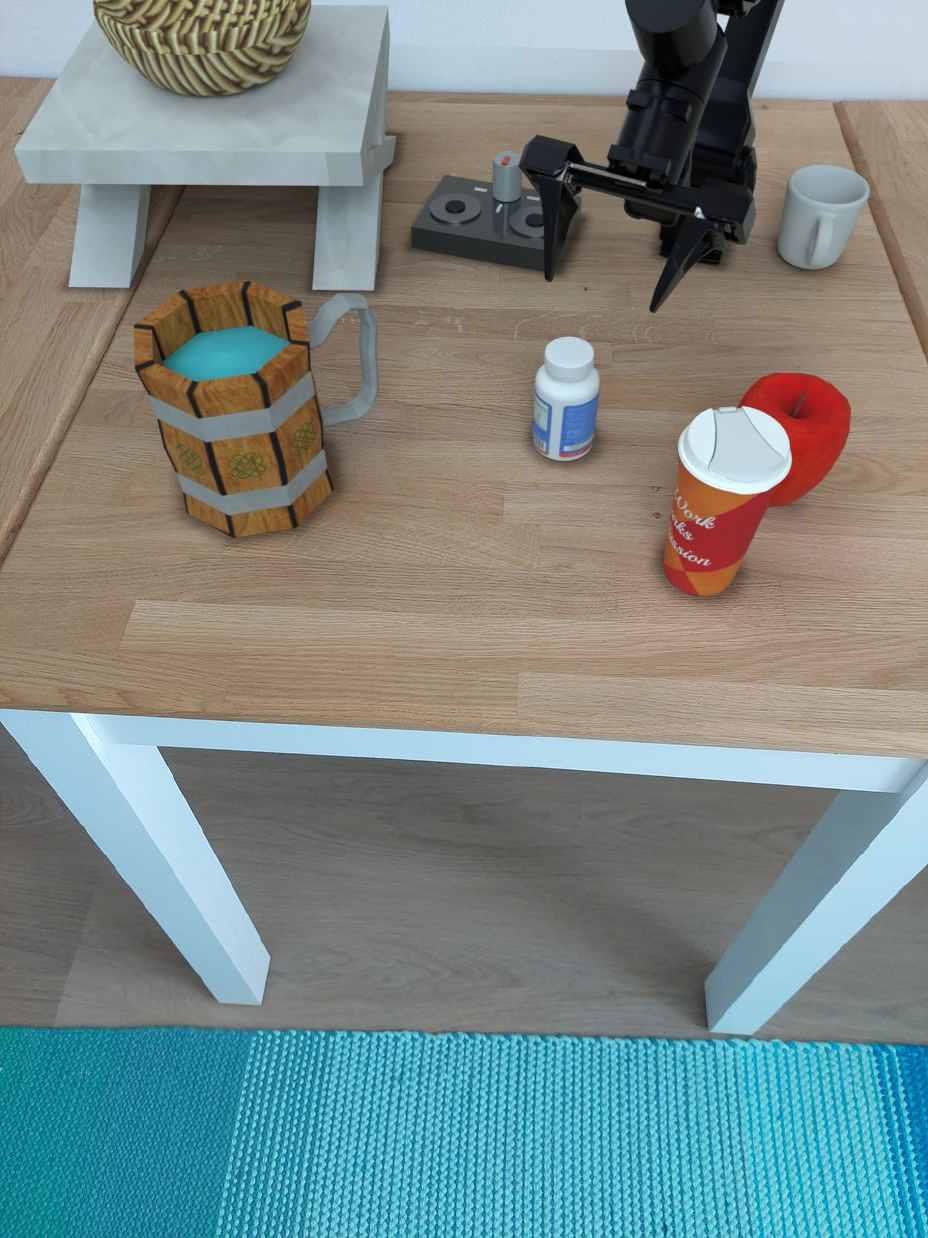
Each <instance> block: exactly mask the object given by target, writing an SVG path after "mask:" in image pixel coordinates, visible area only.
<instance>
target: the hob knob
mask: <svg viewBox="0 0 928 1238" xmlns="http://www.w3.org/2000/svg"><path fill="white" fill-rule="evenodd" d="M521 156H522V154H520V153H518V152H516V151H512V150H511V151H510V150H504V151H500V152H497V153H496V154H494V155H493V158H492V183H493V189H492V194H493V197H494V198H495V199H497V200H499V201H503V202H512V201H515V200H517V199H519V198H520V197H521V194H522V187H523V172H522V171H521V169H520V168H519V167H518V165H519V162H520V159H521Z"/></svg>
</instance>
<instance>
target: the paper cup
mask: <svg viewBox="0 0 928 1238" xmlns="http://www.w3.org/2000/svg"><path fill="white" fill-rule="evenodd" d="M678 439H679V440H678V443H677V451H678V456H679V464H678V470H677V476H676V481H675V487H674V493H673V499H672V505H671V512H670V516H669V523H668V529H667V535H666V542H665V548H664V554H663V555H664V556H663V571H664V574H665V576H666V578H667V580H668V581H669V582H670V584H672V585H673V586H674V587H675V588H677V589H678V590H680V591H681V592H683V593H686V594H688V595H691V596H698V597H711V596H714V595H717V594H720V593H721V592H724V591H725V590H726V589H727V588H728V587H729V586H730V584H731V583H732V582H733V580H734V578H735V576H736V574H737V572H738V570H739V568H740V566H741V564H742V562H743V560H744V558H745V556H746V554H747V551H748V549H749V547H750V545H751V543H752V541H753V539H754V536H755V534H756V533H757V531H758V528H759V526H760V524H761V522H762V519H763V517H764V515H765V513H766V511H767V509H768V507H769V506H768V504H769V502H770V500H771V498H772V496H773V494H774V491H775V489H776V487H777V485H778V483H780V482H781V481H782V480H783V479H784V478H785V477H786V475H787V474H788V472H789V470H790V467H791V463H792V456H791V451H790V444H789V439H788V436H787V434H786V432H785V430H784V429H783V427H782V426H781V425H780V424H779V423H778V422H777V421H776V420H775V419H773V418H772V417H771V416H769V415H767V414H765V413H764V412H761V411H759V410H756V409H753V408H750V407H745V406H742V407H741V409H740V408H738V407H736V406H723V407H718V409H713V408H712V407H711V408H708V409H706V410H704V411H702V412H700V413H699V414H698V415H697V416H695V417H694V418H693V420H692V421H691V422H690V423H689V425H688V426H686V427H685V429H684V430H683V431H682V433H681V435H680V436H679V438H678Z"/></svg>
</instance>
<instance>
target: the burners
mask: <svg viewBox="0 0 928 1238" xmlns="http://www.w3.org/2000/svg"><path fill="white" fill-rule="evenodd" d="M429 209H430V214H431V215H432V216H433V217H434V218H435V219H436V220H438V221H441V222H444V223H449V224H461V223H466V222H469V221H472V220H474V219H475V218H477V217H478V216H479V214H480V212H481V204H480V202H479V201H478V200H477V199H476V198H474V197H472V196H470V195H466V194H460V193H451V194H445V195H442V196H439V197H437V198H436V199H434V200H433V201H432V202H431V204H430V207H429ZM509 224H510V227H511V229H512V230H513V231H514V232H516V233H517V234H519V235H522V236H525V237H530V238H543V237H544V222H543V213H542V207H538V206H532V207H525V208H522V209H519V210H517V211H515V212H514V213H513V214H512V215H511V217H510V220H509Z"/></svg>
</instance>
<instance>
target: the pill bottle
mask: <svg viewBox="0 0 928 1238" xmlns="http://www.w3.org/2000/svg"><path fill="white" fill-rule="evenodd" d="M594 361H595V351H594V348H593V346H592V344H591V343H590V342H589V341H587V340H585V339H583V338H580V337H576V336H562V337H557V338H555V339H553V340H551V341H550V342H549V343H548V344H547V345H546V347H545V350H544V358H543V364H542V365H541V366H540V367H539V368H538V370H537V372H536V374H535V379H534V394H533V395H534V398H533V418H532V419H533V421H532V442H533V445H534V447H535V449H536V451H538V452H539V453H540V454H541V455H542V456H544V457H546V458H548V459H551V460H553V461H558V462H570V461H574V460H577V459H580V458H582V457H584V456H585V455H586V454H588V452H589V451H590V450H591V448H592V446H593V444H594V439H595V431H596V424H597V423H596V421H597V413H598V404H599V398H600V397H599V396H600V386H601V385H600V384H601V377H600V375H599V372H598V370H597V368H596V367H594V365H595V364H594V363H595V362H594Z"/></svg>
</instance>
